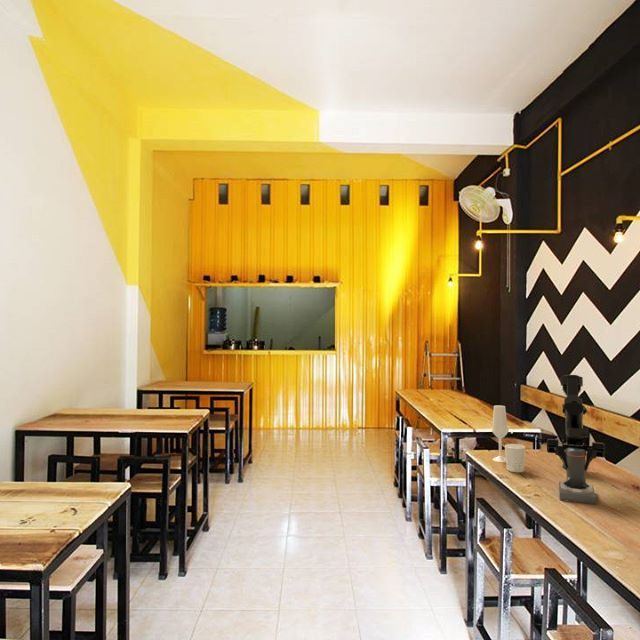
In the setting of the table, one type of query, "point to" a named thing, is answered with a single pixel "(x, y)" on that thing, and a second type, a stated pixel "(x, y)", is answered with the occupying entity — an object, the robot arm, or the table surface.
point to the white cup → (515, 457)
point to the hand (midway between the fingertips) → (576, 469)
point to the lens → (576, 468)
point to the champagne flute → (499, 428)
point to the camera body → (577, 493)
